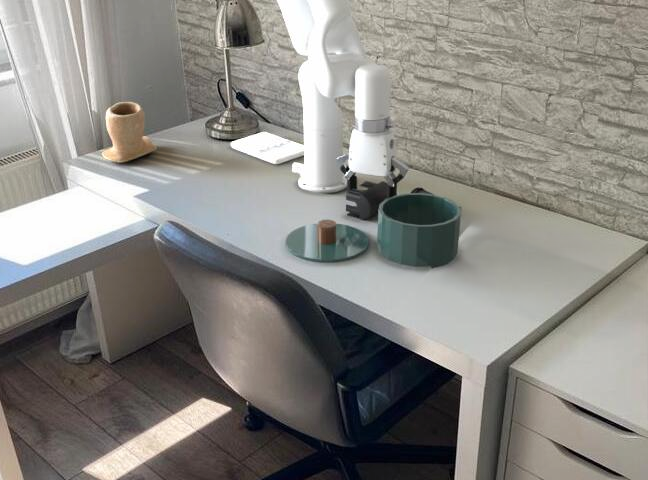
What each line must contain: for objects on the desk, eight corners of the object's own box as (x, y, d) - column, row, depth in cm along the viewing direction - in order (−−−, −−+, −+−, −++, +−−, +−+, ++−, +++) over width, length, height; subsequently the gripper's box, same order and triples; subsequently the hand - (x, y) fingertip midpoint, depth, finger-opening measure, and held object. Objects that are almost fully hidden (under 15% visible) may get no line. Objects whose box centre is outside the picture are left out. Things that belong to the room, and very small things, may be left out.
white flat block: (265, 136, 233) (264, 130, 232) (312, 153, 220) (312, 146, 219) (229, 147, 225) (229, 141, 224) (276, 165, 212) (275, 158, 211)
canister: (363, 258, 166) (365, 216, 161) (396, 227, 178) (398, 187, 174) (439, 276, 159) (443, 233, 154) (468, 242, 171) (472, 202, 166)
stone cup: (123, 169, 211) (115, 114, 203) (97, 159, 218) (88, 105, 210) (168, 154, 220) (162, 101, 213) (141, 145, 227) (135, 93, 220)
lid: (269, 253, 168) (268, 231, 165) (310, 221, 181) (310, 200, 179) (344, 272, 160) (345, 249, 158) (381, 237, 174) (382, 216, 171)
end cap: (370, 225, 179) (371, 197, 176) (344, 218, 183) (345, 190, 180) (393, 210, 186) (394, 183, 183) (367, 203, 190) (368, 177, 186)
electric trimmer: (452, 221, 181) (453, 208, 180) (407, 199, 192) (407, 186, 190) (464, 217, 183) (465, 204, 181) (418, 195, 194) (419, 183, 192)
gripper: (415, 124, 173) (413, 198, 181) (344, 115, 180) (345, 186, 188) (401, 133, 167) (399, 209, 175) (329, 124, 174) (330, 197, 183)
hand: (371, 197), depth 182 cm, fingers open, 9 cm apart
